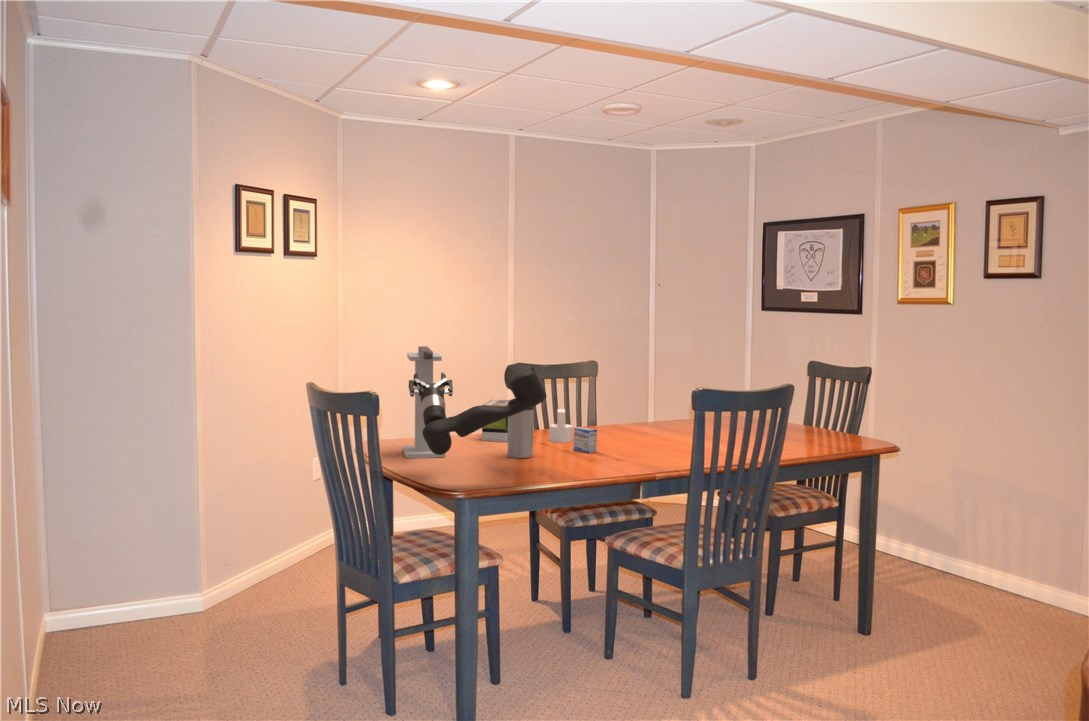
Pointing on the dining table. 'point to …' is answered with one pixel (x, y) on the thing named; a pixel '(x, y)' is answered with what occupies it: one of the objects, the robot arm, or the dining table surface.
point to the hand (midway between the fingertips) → (429, 374)
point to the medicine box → (585, 440)
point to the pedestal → (426, 375)
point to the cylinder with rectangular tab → (560, 429)
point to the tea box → (496, 425)
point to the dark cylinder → (425, 352)
